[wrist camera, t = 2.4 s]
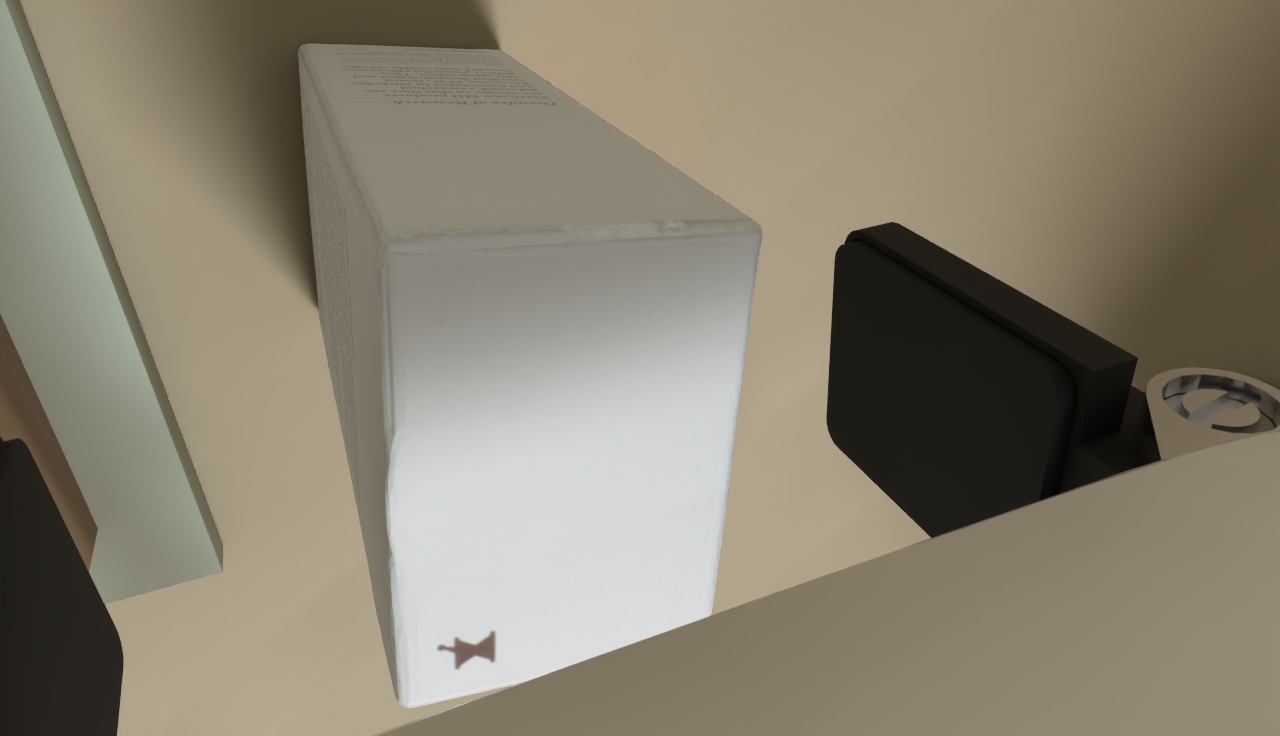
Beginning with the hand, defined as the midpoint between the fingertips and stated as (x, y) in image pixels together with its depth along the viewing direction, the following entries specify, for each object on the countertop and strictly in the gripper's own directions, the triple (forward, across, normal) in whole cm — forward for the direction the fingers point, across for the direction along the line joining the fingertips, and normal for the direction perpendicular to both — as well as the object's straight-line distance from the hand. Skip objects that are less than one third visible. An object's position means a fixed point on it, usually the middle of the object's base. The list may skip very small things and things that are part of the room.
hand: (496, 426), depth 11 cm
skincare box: (+11, -1, +1) cm, 11 cm away
